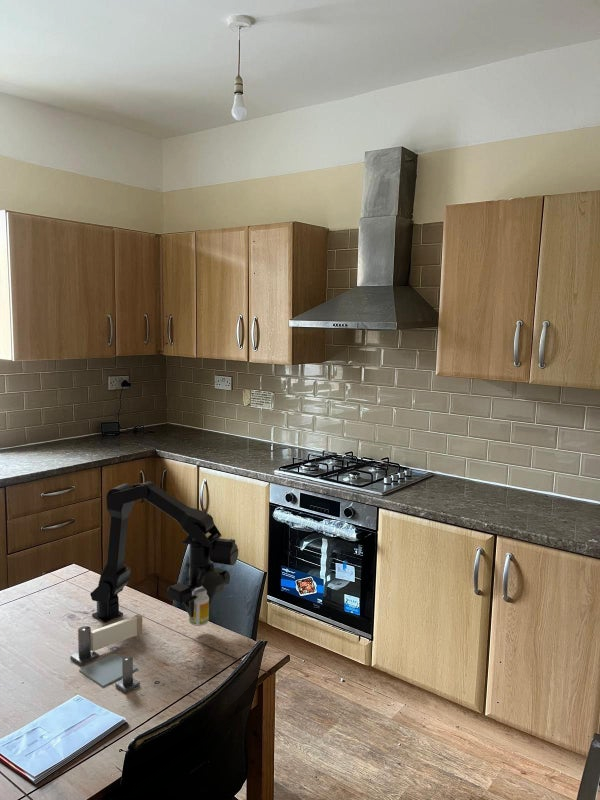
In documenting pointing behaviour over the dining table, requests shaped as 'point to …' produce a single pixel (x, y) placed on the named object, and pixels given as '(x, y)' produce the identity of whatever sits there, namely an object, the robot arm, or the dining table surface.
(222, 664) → the dining table surface
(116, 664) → the doorway mat
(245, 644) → the dining table surface
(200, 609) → the supplement bottle
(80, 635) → the gate posts
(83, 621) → the dining table surface
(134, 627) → the gate
